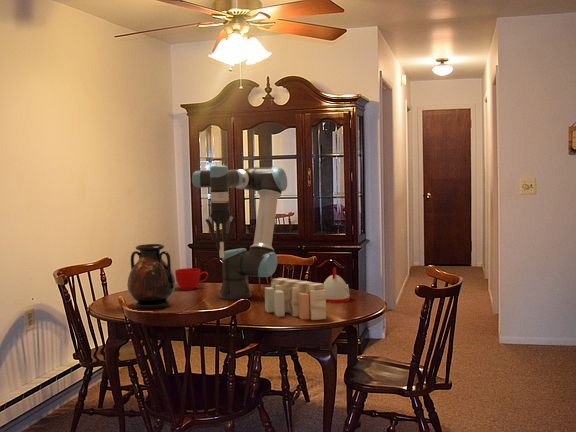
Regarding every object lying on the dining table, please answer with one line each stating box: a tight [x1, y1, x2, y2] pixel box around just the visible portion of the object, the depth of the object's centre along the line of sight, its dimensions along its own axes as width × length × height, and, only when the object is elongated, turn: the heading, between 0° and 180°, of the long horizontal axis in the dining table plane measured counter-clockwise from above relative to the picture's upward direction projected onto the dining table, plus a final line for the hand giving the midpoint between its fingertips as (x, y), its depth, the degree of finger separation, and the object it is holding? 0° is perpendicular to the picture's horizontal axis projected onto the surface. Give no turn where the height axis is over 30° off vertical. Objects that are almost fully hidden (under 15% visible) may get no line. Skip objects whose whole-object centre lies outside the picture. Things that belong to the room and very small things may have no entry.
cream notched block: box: [270, 277, 327, 321], centre depth 288 cm, size 31×10×14 cm, turn 44°
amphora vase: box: [127, 243, 176, 310], centre depth 312 cm, size 22×22×28 cm
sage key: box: [264, 286, 275, 314], centre depth 294 cm, size 5×3×10 cm, turn 15°
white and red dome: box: [323, 267, 351, 304], centre depth 316 cm, size 14×14×15 cm
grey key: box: [274, 290, 286, 317], centre depth 286 cm, size 5×3×10 cm, turn 15°
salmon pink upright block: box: [298, 293, 310, 321], centre depth 279 cm, size 5×3×10 cm, turn 15°
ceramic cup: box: [174, 267, 209, 291], centre depth 354 cm, size 13×17×10 cm
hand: (221, 257), depth 291 cm, fingers closed
